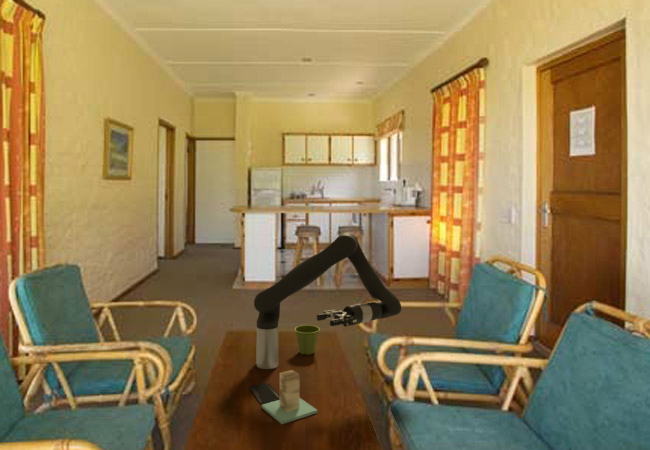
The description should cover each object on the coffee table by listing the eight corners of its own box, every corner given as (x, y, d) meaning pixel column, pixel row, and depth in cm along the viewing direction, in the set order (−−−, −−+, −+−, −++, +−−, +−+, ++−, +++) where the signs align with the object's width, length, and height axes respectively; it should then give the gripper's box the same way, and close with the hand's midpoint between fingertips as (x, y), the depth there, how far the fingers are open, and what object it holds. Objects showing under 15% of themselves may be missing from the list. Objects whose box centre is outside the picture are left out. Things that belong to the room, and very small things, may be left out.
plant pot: (289, 353, 218) (289, 329, 217) (303, 346, 228) (303, 323, 227) (310, 358, 212) (310, 334, 211) (324, 351, 222) (324, 327, 221)
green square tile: (261, 407, 165) (261, 404, 165) (295, 397, 173) (295, 394, 173) (281, 424, 154) (281, 421, 154) (317, 412, 162) (317, 410, 162)
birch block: (279, 406, 164) (279, 373, 163) (291, 402, 167) (291, 369, 166) (286, 412, 160) (287, 377, 159) (299, 408, 163) (299, 374, 162)
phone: (268, 382, 184) (282, 398, 171) (268, 385, 184) (282, 401, 171) (248, 386, 181) (261, 402, 167) (248, 389, 181) (261, 405, 168)
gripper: (346, 300, 189) (313, 306, 180) (369, 308, 177) (335, 315, 168) (346, 319, 190) (312, 325, 180) (369, 328, 178) (335, 335, 169)
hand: (323, 320), depth 174 cm, fingers open, 8 cm apart
